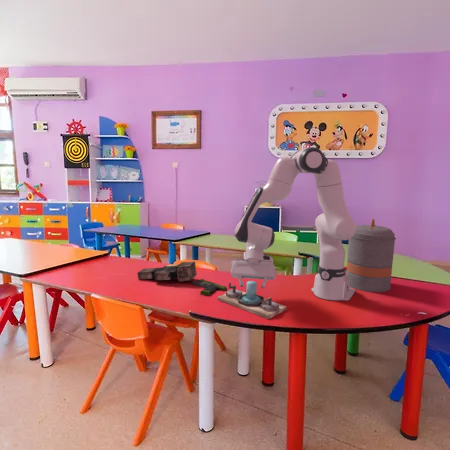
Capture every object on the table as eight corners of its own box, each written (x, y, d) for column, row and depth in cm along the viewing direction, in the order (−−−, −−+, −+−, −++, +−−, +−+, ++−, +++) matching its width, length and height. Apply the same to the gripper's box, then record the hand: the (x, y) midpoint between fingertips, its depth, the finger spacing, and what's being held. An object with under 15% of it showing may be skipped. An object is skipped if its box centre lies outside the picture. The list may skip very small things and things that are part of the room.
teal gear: (249, 296, 147) (250, 278, 146) (264, 301, 142) (264, 282, 141) (238, 301, 142) (238, 282, 140) (252, 306, 136) (253, 287, 135)
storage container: (349, 275, 186) (353, 215, 181) (392, 282, 175) (398, 218, 169) (340, 286, 167) (345, 219, 162) (389, 295, 156) (396, 223, 150)
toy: (136, 287, 171) (190, 284, 164) (133, 271, 169) (187, 267, 163) (149, 278, 186) (199, 275, 180) (146, 263, 185) (196, 259, 178)
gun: (180, 288, 162) (202, 282, 174) (207, 297, 150) (228, 290, 161) (180, 283, 162) (202, 277, 173) (207, 292, 150) (229, 285, 161)
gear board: (236, 292, 156) (237, 276, 155) (286, 309, 137) (287, 291, 136) (217, 299, 147) (218, 282, 146) (268, 319, 128) (268, 299, 126)
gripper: (231, 255, 151) (228, 282, 143) (275, 257, 148) (275, 285, 140) (232, 261, 156) (229, 288, 148) (275, 264, 153) (274, 291, 145)
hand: (252, 286), depth 144 cm, fingers open, 8 cm apart
